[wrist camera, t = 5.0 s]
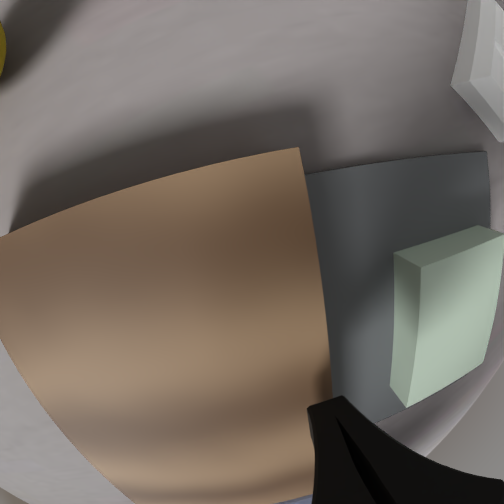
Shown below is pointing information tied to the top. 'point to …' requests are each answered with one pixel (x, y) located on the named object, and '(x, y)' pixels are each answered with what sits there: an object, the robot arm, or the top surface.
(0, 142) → the top surface
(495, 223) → the top surface
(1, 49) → the lemon
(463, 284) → the tile
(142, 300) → the board
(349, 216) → the mat
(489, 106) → the soap bar
